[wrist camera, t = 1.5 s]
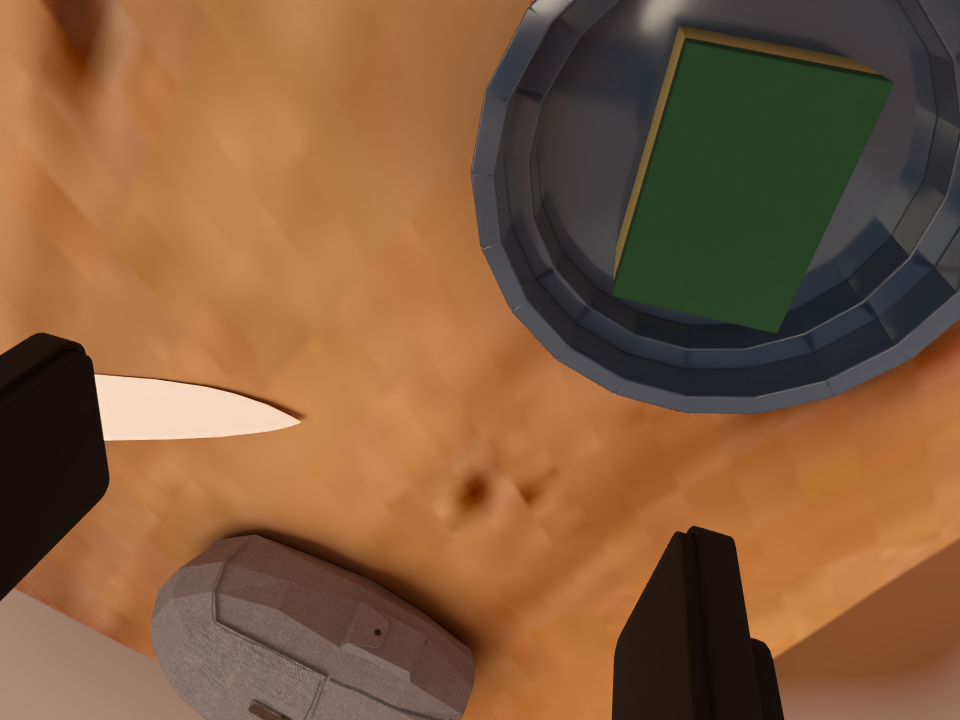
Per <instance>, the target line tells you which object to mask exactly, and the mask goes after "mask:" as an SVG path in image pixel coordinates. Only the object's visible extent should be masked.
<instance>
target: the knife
mask: <svg viewBox="0 0 960 720" xmlns="http://www.w3.org/2000/svg"><path fill="white" fill-rule="evenodd" d="M94 376H95V382H96V389H97V396H98V403H99V409H100V416H101V423H102V430H103V436H104V440H153V439H186V438H207V437H224V436H233V435H241V434H250V433H258V432H265V431H273V430H277V429H282V428H286V427H289V426H293V425H296V424H299V423H301V422H300V421H299V420H297V419H295V418H294V417H292V416H290V415H288V414H286V413H284V412H282V411H280V410H277V409H275V408H273V407H271V406H269V405H267V404H264V403H261V402H258V401H255V400H252V399H249V398H246V397H243V396H240V395H237V394H234V393H230V392H226V391H222V390H218V389H214V388H210V387H204V386H197V385H190V384H184V383H177V382H170V381H163V380H157V379H145V378H133V377H121V376H109V375H97V374H94Z"/></svg>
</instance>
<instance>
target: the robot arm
mask: <svg viewBox="0 0 960 720" xmlns="http://www.w3.org/2000/svg"><path fill="white" fill-rule="evenodd" d="M108 485H109V470H108V463H107V457H106V450H105V443H104V436H103V430H102V423H101V416H100V409H99V403H98V396H97V389H96V382H95V376H94V369H93V363H92V360H91V358H90V357H89V356H87V355H86V353H85V350H84V348H83V346H82V345H81V344H79V343H77V342H74V341H70V340H67V339H64V338H60V337H57V336H53V335H50V334H47V333H37V334H35V335H32V336H30V337H29V338H27V339H26V340H24V341H22V342H21V343H19V344H18V345H16V346H14V347H13V348H11V349H10V350H8V351H7V352H5V353H3V354H2V355H0V601H1V600H2V599H3V598H4V597H5V596H6V595H7V594H8V593H9V592H10V591H11V590H12V589H13V588H14V587H15V586H16V585H17V584H18V583H19V582H20V581H21V580H22V579H23V578H24V577H25V576H26V575H27V574H28V573H29V572H30V571H31V570H32V569H33V568H34V567H35V566H36V565H37V564H38V563H39V561H40V560H41V559H42V558H43V557H44V556H45V555H46V554H47V553H48V552H49V551H50V550H51V549H52V548H53V547H54V546H55V545H56V544H57V543H58V542H59V541H60V540H61V539H62V538H63V537H64V536H65V535H66V534H67V533H68V532H69V531H70V530H71V529H72V528H73V527H74V526H75V525H76V524H77V523H78V522H79V521H80V520H81V519H82V518H83V517H84V516H85V515H86V514H87V513H88V512H89V511H90V510H91V509H92V508H93V507H94V506H95V505H96V504H97V503H98V502H99V501H100V499H101V498H102V497H103V496H104V494H105V492H106V490H107V488H108ZM612 720H784V716H783V710H782V705H781V700H780V695H779V689H778V684H777V679H776V673H775V668H774V663H773V659H772V656H771V652H770V650H769V648H768V647H767V645H766V644H765V643H764V642H762V641H760V640H757V639H753V638H750V632H749V626H748V620H747V614H746V608H745V601H744V595H743V589H742V583H741V577H740V570H739V564H738V558H737V552H736V546H735V542H734V540H733V538H732V537H731V536H727V535H724V534H720V533H717V532H714V531H710V530H707V529H704V528H700V527H697V526H692V527H691V528H689V530H688V531H687V533H682V532H679V531H677V532H675V533H674V535H673V536H672V538H671V540H670V542H669V544H668V546H667V548H666V549H665V551H664V553H663V555H662V557H661V559H660V561H659V563H658V565H657V566H656V568H655V570H654V572H653V574H652V576H651V578H650V580H649V581H648V583H647V585H646V587H645V589H644V591H643V593H642V595H641V596H640V598H639V600H638V602H637V604H636V606H635V608H634V610H633V611H632V613H631V615H630V617H629V619H628V621H627V623H626V625H625V626H624V628H623V630H622V632H621V634H620V636H619V638H618V642H617V645H616V649H615V655H614V674H613V702H612Z"/></svg>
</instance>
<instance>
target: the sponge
mask: <svg viewBox="0 0 960 720" xmlns="http://www.w3.org/2000/svg"><path fill="white" fill-rule="evenodd" d="M893 86H894V82H893V81H891V80H889V79H888V78H886V77H884V76H882V75H880V74H879V73H877V72H875V71H873V70H872V69H870V68H868V67H866V66H864V65H863V64H861V63H859V62H857V61H856V60H854V59H852V58H848V57H843V56H838V55H832V54H827V53H822V52H817V51H811V50H806V49H801V48H796V47H790V46H785V45H780V44H775V43H769V42H764V41H759V40H754V39H748V38H743V37H738V36H733V35H727V34H722V33H717V32H712V31H706V30H701V29H696V28H691V27H685V26H680V27H679V29H678V32H677V36H676V39H675V43H674V46H673V50H672V53H671V57H670V60H669V64H668V67H667V71H666V74H665V78H664V81H663V85H662V88H661V92H660V95H659V99H658V102H657V106H656V109H655V113H654V116H653V120H652V123H651V127H650V130H649V134H648V137H647V141H646V144H645V148H644V151H643V155H642V158H641V162H640V165H639V169H638V172H637V176H636V179H635V183H634V186H633V190H632V193H631V197H630V200H629V204H628V207H627V211H626V214H625V218H624V221H623V225H622V228H621V232H620V235H619V239H618V242H617V246H616V257H615V269H614V281H613V293H612V295H613V296H614V297H619V298H623V299H628V300H632V301H636V302H641V303H645V304H649V305H654V306H658V307H663V308H667V309H671V310H676V311H680V312H684V313H689V314H693V315H698V316H702V317H706V318H711V319H715V320H719V321H724V322H728V323H733V324H737V325H741V326H746V327H750V328H754V329H759V330H763V331H768V332H772V333H778V331H779V328H780V326H781V324H782V322H783V320H784V318H785V316H786V314H787V311H788V309H789V307H790V305H791V303H792V301H793V299H794V297H795V294H796V292H797V290H798V288H799V286H800V284H801V282H802V279H803V277H804V275H805V273H806V271H807V269H808V267H809V265H810V262H811V260H812V258H813V256H814V254H815V252H816V250H817V248H818V245H819V243H820V241H821V239H822V237H823V235H824V233H825V230H826V228H827V226H828V224H829V222H830V220H831V218H832V216H833V213H834V211H835V209H836V207H837V205H838V203H839V201H840V199H841V196H842V194H843V192H844V190H845V188H846V186H847V184H848V181H849V179H850V177H851V175H852V173H853V171H854V169H855V167H856V164H857V162H858V160H859V158H860V156H861V154H862V152H863V150H864V147H865V145H866V143H867V141H868V139H869V137H870V135H871V132H872V130H873V128H874V126H875V124H876V122H877V120H878V118H879V115H880V113H881V111H882V109H883V107H884V105H885V103H886V101H887V98H888V96H889V94H890V92H891V90H892V88H893Z"/></svg>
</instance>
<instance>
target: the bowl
mask: <svg viewBox="0 0 960 720" xmlns="http://www.w3.org/2000/svg"><path fill="white" fill-rule="evenodd" d="M680 26H685V27H691V28H696V29H701V30H706V31H712V32H717V33H722V34H727V35H733V36H738V37H743V38H748V39H754V40H759V41H764V42H769V43H775V44H780V45H785V46H790V47H796V48H801V49H806V50H811V51H817V52H822V53H827V54H832V55H838V56H843V57H848V58H852V59H854V60H856V61H857V62H859V63H861V64H863V65H864V66H866V67H868V68H870V69H872V70H873V71H875V72H877V73H879V74H880V75H882V76H884V77H886V78H888V79H889V80H891V81H893V82H894V86H893V88H892V90H891V92H890V94H889V96H888V98H887V101H886V103H885V105H884V107H883V109H882V111H881V113H880V115H879V118H878V120H877V122H876V124H875V126H874V128H873V130H872V132H871V135H870V137H869V139H868V141H867V143H866V145H865V147H864V150H863V152H862V154H861V156H860V158H859V160H858V162H857V164H856V167H855V169H854V171H853V173H852V175H851V177H850V179H849V181H848V184H847V186H846V188H845V190H844V192H843V194H842V196H841V199H840V201H839V203H838V205H837V207H836V209H835V211H834V213H833V216H832V218H831V220H830V222H829V224H828V226H827V228H826V230H825V233H824V235H823V237H822V239H821V241H820V243H819V245H818V248H817V250H816V252H815V254H814V256H813V258H812V260H811V262H810V265H809V267H808V269H807V271H806V273H805V275H804V277H803V279H802V282H801V284H800V286H799V288H798V290H797V292H796V294H795V297H794V299H793V301H792V303H791V305H790V307H789V309H788V311H787V314H786V316H785V318H784V320H783V322H782V324H781V326H780V328H779V331H778V333H772V332H768V331H763V330H759V329H754V328H750V327H746V326H741V325H737V324H733V323H728V322H724V321H719V320H715V319H711V318H706V317H702V316H698V315H693V314H689V313H684V312H680V311H676V310H671V309H667V308H663V307H658V306H654V305H649V304H645V303H641V302H636V301H632V300H628V299H623V298H619V297H614V296H613V295H612V293H613V281H614V269H615V257H616V246H617V242H618V239H619V235H620V232H621V228H622V225H623V221H624V218H625V214H626V211H627V207H628V204H629V200H630V197H631V193H632V190H633V186H634V183H635V179H636V176H637V172H638V169H639V165H640V162H641V158H642V155H643V151H644V148H645V144H646V141H647V137H648V134H649V130H650V127H651V123H652V120H653V116H654V113H655V109H656V106H657V102H658V99H659V95H660V92H661V88H662V85H663V81H664V78H665V74H666V71H667V67H668V64H669V60H670V57H671V53H672V50H673V46H674V43H675V39H676V36H677V32H678V29H679V27H680ZM471 180H472V187H473V195H474V203H475V210H476V218H477V225H478V233H479V240H480V246H481V247H482V251H483V253H484V255H485V258H486V260H487V262H488V264H489V266H490V268H491V270H492V272H493V274H494V276H495V279H496V281H497V283H498V285H499V287H500V289H501V291H502V293H503V295H504V297H505V300H506V302H507V304H508V306H509V308H510V309H512V312H513V313H514V315H515V316H516V317H517V318H518V319H519V320H520V321H521V322H522V323H523V324H524V325H525V326H526V327H527V329H528V330H529V331H530V332H531V333H532V334H533V335H534V336H535V337H536V338H537V339H538V340H539V341H540V343H541V344H542V345H543V346H544V347H545V348H546V349H547V350H548V351H549V352H550V353H551V354H552V355H553V356H554V358H556V359H557V360H558V361H559V362H561V363H563V364H564V365H566V366H568V367H570V368H571V369H573V370H575V371H576V372H578V373H580V374H581V375H583V376H585V377H586V378H588V379H590V380H592V381H593V382H595V383H597V384H598V385H600V386H602V387H603V388H605V389H607V390H609V391H610V392H612V393H616V394H617V395H620V396H623V397H627V398H631V399H634V400H638V401H642V402H645V403H649V404H653V405H656V406H660V407H664V408H667V409H671V410H675V411H678V412H682V411H683V413H717V414H756V413H757V414H760V413H765V412H769V411H774V410H778V409H783V408H787V407H792V406H796V405H801V404H805V403H810V402H814V401H819V400H823V399H827V398H832V397H834V396H837V395H839V394H841V393H843V392H845V391H847V390H849V389H851V388H853V387H856V386H858V385H860V384H862V383H864V382H866V381H868V380H870V379H872V378H874V377H876V376H878V375H880V374H882V373H884V372H886V371H888V370H890V369H892V368H894V367H897V366H899V365H901V364H903V363H905V362H907V361H909V360H910V359H912V358H913V357H915V356H916V355H917V354H918V353H919V352H921V351H922V350H923V349H924V348H925V347H927V346H928V345H929V344H930V343H931V342H933V341H934V340H935V339H936V338H937V337H939V336H940V335H941V334H942V333H943V332H945V331H946V330H947V329H948V328H949V327H951V326H952V325H953V324H954V323H955V322H956V321H958V320H959V319H960V0H534V1H533V3H532V4H531V5H530V7H529V8H528V9H527V10H526V12H525V14H524V16H523V18H522V20H521V22H520V24H519V26H518V28H517V30H516V32H515V34H514V36H513V37H512V39H511V41H510V43H509V45H508V47H507V49H506V51H505V53H504V55H503V57H502V59H501V61H500V63H499V64H498V66H497V68H496V70H495V72H494V74H493V76H492V78H491V80H490V82H489V84H488V86H487V88H486V91H485V94H484V99H483V105H482V111H481V116H480V122H479V127H478V133H477V138H476V144H475V150H474V155H473V161H472V166H471Z"/></svg>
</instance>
